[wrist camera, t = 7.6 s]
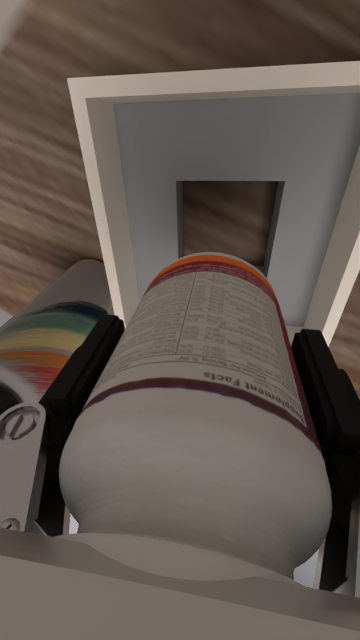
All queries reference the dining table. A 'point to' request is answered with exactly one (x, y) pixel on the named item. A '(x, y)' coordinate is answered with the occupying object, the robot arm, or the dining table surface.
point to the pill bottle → (200, 435)
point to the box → (228, 173)
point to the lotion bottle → (50, 332)
